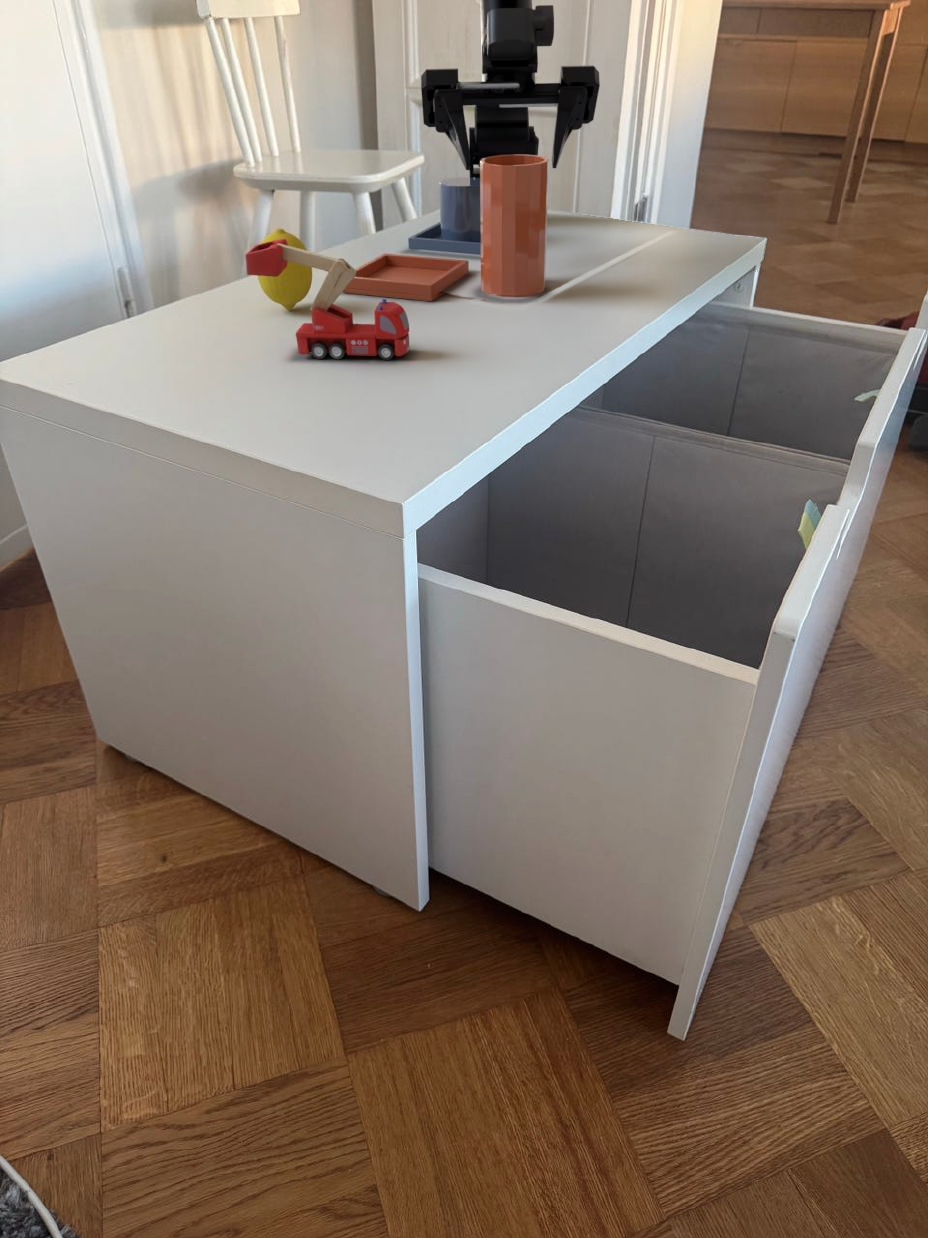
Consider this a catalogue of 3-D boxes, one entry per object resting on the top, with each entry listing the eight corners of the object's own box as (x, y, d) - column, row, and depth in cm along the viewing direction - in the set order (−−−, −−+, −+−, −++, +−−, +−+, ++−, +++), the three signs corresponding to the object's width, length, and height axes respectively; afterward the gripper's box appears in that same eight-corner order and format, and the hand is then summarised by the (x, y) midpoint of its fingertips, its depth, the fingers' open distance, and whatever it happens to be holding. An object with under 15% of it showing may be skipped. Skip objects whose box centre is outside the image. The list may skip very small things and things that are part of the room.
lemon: (326, 305, 96) (317, 224, 92) (296, 320, 92) (286, 236, 88) (282, 299, 98) (272, 220, 94) (251, 314, 94) (239, 232, 90)
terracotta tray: (385, 268, 108) (384, 253, 107) (468, 275, 105) (468, 260, 104) (342, 292, 100) (340, 276, 99) (431, 301, 97) (431, 284, 96)
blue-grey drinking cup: (458, 233, 120) (456, 175, 116) (497, 239, 117) (497, 179, 113) (431, 243, 116) (429, 183, 112) (471, 249, 113) (471, 187, 109)
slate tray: (443, 233, 122) (443, 219, 121) (518, 239, 119) (518, 225, 118) (408, 252, 114) (408, 237, 113) (488, 259, 111) (488, 244, 110)
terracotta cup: (502, 280, 103) (503, 152, 96) (555, 288, 100) (560, 157, 92) (469, 295, 98) (467, 162, 91) (524, 304, 95) (527, 167, 88)
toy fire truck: (407, 361, 82) (401, 247, 76) (258, 358, 83) (242, 247, 78) (413, 348, 85) (407, 238, 79) (268, 346, 86) (253, 237, 80)
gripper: (417, -25, 92) (419, 113, 89) (603, -29, 92) (611, 109, 89) (423, 61, 103) (424, 187, 100) (589, 57, 102) (595, 183, 100)
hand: (511, 166), depth 97 cm, fingers open, 9 cm apart
